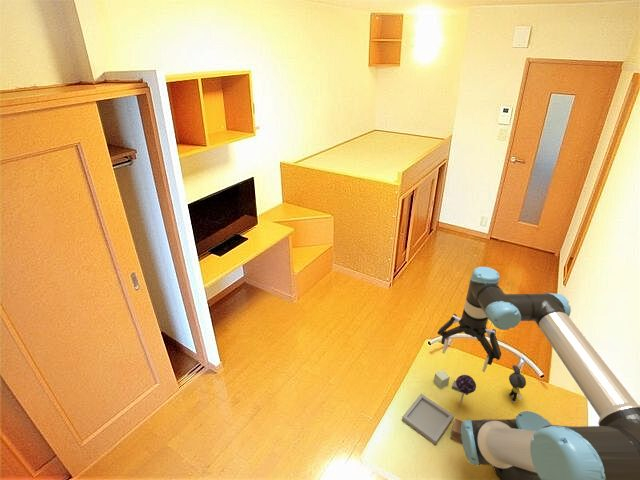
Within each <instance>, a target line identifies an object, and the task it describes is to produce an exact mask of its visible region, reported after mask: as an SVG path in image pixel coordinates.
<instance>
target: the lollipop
mask: <svg viewBox="0 0 640 480" xmlns="http://www.w3.org/2000/svg"><path fill="white" fill-rule="evenodd" d="M455 381H456V385H457V387H458V389H459V390H460V391H461V392H463V393H461V392H460V393H461V396H460V401H459V404H458V405H459V406H460V407H461V406H462V401H463V399H464V395H466V394H468V395H469V394H472V393H474V392H475V391H476V389H477V383H476V381H475V379H474V378H473V377H472V376H470V375H468V374H461V375H460V376H458V377H457V378H456V380H455ZM464 393H465V394H464Z"/></svg>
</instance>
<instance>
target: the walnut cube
mask: <svg viewBox="0 0 640 480" xmlns="http://www.w3.org/2000/svg"><path fill="white" fill-rule="evenodd" d="M453 420H454V421H453V424H452V428H451V433H450V437H449V439H450V440H452V441H454V442H456V443H458V444H461V445H463V443H462V437H461V425H462V422H463V421H464V420H460V419H458V418H454V419H453Z"/></svg>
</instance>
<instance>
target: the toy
mask: <svg viewBox="0 0 640 480" xmlns="http://www.w3.org/2000/svg"><path fill="white" fill-rule="evenodd" d="M512 369H513V372H512V373H511V374H509V376H508V379H509V380H508V381H509V384H510V385H511V386H512V388H511V391H510V393H508V397H512V398H511V403H517V398H518V399H519V400H520V401H523V397H522V394H521V392H520V390H522V389H524V388H525V386H526V385H527V381H526V377H525V376H524V375H523V374H522V373H521V370H520V368H519V367H518V365H512Z"/></svg>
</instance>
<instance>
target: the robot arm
mask: <svg viewBox="0 0 640 480" xmlns="http://www.w3.org/2000/svg"><path fill="white" fill-rule="evenodd" d="M499 282H500V273H499V272H498V271H497V270H495V269H494V268H492V267H489V266H478V267H475V268H474V269H473V270H472V273H471V277H470V279H469V284H468V289H467V294H466V297H465V301H464V306H463V310H462V315H461V317H458V316H457V314H455V313H453V314H452V316H451V317H450V319H449V320H448V321H447V322H446V323H444V325H443V326H441V327H440V328H439V330H438V331H437V335H438V336H441V341H440V342H441V344H442V346H443V347H442V352H441V353H442V354H446V353H447V349H448V346H449V342H450V337H451V336H455V335H457V334H462V333H464V334H465V335H468V336H470V337H472V338H476V339H477V341H478V342H479V343H480V344H481V346H482V347H483V349H484V351H485V352H486V354H487V355H486V357H485V361H484V364H483V367H482V370H481V371H482V372H483V373H485V372H486V370H487V367H488V365H489V366H491V365H492V363H493V361H494V359H496V360H497V361H500V359H501V357H502V352H501V349H500V345H499V343H498V338H497V330H496V329H495V328H497V329H499V330H502V331H507V330H508V331H509V330H510V329H514V328H516V327H517V326H518V325H519V324H520V323H521V322H535V323H536V325H537V326H538V328H539V329H540V330H541V332H542V334H543V335H544V337H545V338H546V340H547V341H548V343H549V344H550V345H551V346H552V348H553V350H554V351H555V353H556V354H557V355H558V358H559V359H560V361H561V362H562V363H563V365H564V367H566V369H567V370H568V372H569V374H570V376H571V377H572V378H573V379H574V382H575V383H576V385H577V386H578V388H579V389H580V390H581V391H582V394H584V397H586V399H587V401H588V403H589V404H590V405H591V407H592V409H594V411H595V412H596V414H597V416H598V417H599V419H598V422H597V423H598V424H597V425H587V426H586V425H585V426H584V425H583V426H579V425H578V426H574V425H559V424H558V425H557V424H552V423H551V422H550V421H549V420H548V419H547V418H545V417H543V416H542V415H541V414H539V413H537V412H534V411H529V410H524V411H520V412H519V413H518V414H517V415H516V416H515V418H511V419H510V418H509V419H502V418H501V419H497V418H495V419H469V420H468V419H467V420H462V421H463V422H462V425H461V437H462V443H463V444H462V447H463V451H464V453H465V457H466V459H467V461H468V462H469V464H471V465H473V466H479V467H480V466H493V469H494V472H495V473H496V476H497V478H498V479H499V480H640V405H639V404H638V403H637V401H636V400H635V399H634V398H633V396H632V395H631V394H630V393H629V392H628V390H627V389H626V388H625V386H624V385H623V384H622V382H621V381H620V380H619V379H618V378H617V376H616V374H614V372H613V371H612V369H611V368H610V367H609V366H608V364H606V362H605V360H604V359H602V357H601V356H600V355H599V353H598V352H597V351H596V350H595V348H594V346H592V344H591V343H590V341H588V340H587V338H586V337H585V336H584V334H583V333H582V332H581V331H580V329H579V328H578V327H577V325H576V324H575V323H574V321H573V320H572V319H571V318H570V315H571V311H572V309H571V305H569V303H570V301H569V300H568V298H566V296H564V295H562V293H561V294H560V293H551V292H543V293H540V292H539V293H505V291H503V289H502V288H501V287H500V285H499ZM488 320H489V321H490V322H491V324H492V325H493V326H494V327H495V328H492V329H488V328H487V324H488ZM456 323H458V324H459V325H458V326H455V327H453V328H450V327H451V326H452V325H453V324H456ZM449 328H450V329H449ZM486 334H487V337H488V338H489V340H488V339H487V337H486ZM489 341H490V342H489Z"/></svg>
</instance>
